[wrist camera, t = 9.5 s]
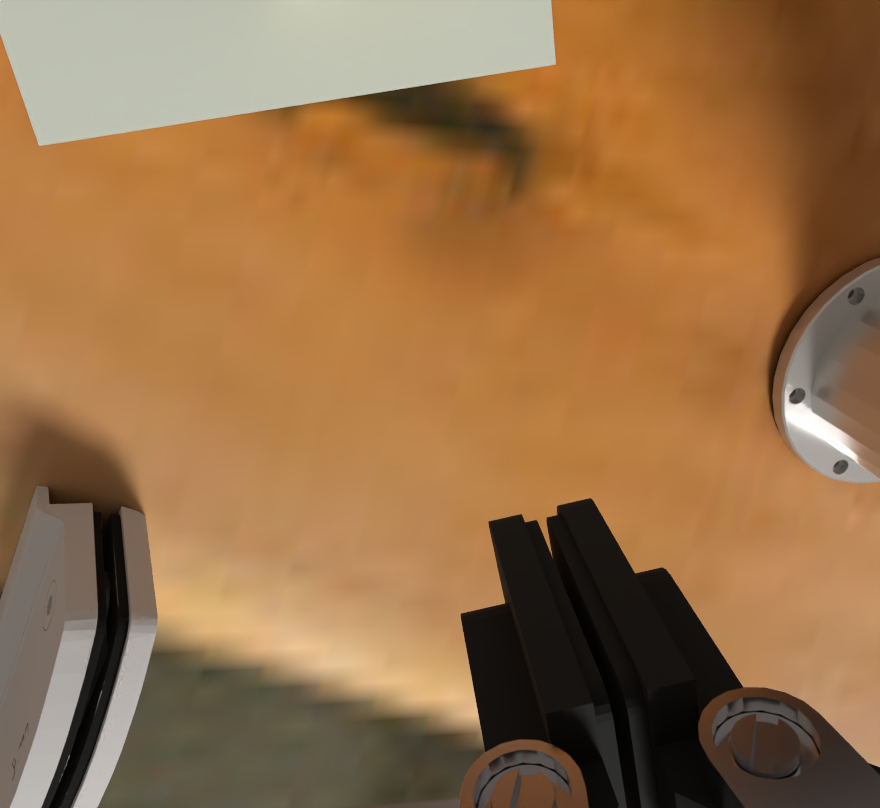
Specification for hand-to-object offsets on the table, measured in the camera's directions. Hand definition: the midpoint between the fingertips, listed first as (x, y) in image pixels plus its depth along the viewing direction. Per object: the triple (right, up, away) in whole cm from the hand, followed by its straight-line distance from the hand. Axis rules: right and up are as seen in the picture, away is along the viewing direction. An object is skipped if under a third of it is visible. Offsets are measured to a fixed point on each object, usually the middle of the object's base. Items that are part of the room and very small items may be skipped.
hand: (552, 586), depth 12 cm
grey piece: (-21, -9, +26) cm, 35 cm away
